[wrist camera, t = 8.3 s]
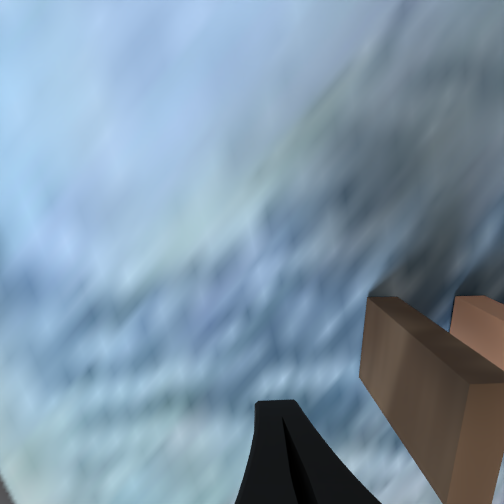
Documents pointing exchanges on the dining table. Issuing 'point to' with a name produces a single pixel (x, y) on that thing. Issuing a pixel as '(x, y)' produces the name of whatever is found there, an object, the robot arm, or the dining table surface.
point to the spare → (480, 326)
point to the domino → (436, 399)
